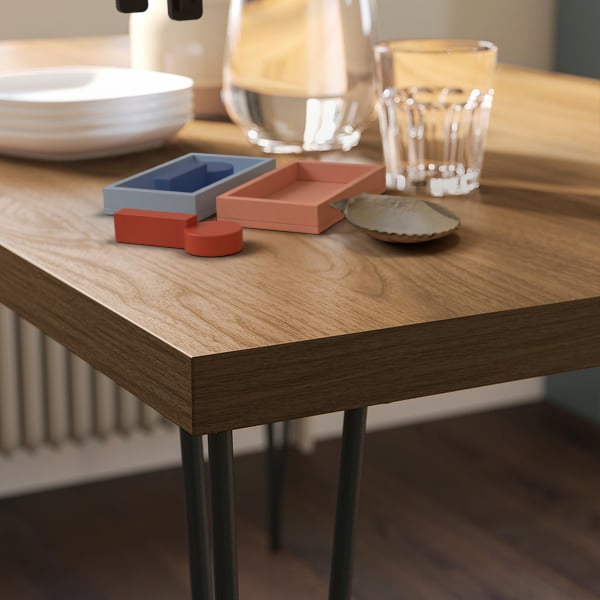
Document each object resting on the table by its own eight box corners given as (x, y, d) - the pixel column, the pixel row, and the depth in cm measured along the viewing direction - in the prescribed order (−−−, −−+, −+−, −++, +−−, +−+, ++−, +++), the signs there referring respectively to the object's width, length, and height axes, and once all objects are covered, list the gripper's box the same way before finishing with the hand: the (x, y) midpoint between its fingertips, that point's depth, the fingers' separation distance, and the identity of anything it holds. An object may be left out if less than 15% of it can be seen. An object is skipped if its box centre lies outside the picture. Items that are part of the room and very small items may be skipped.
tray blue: (192, 176, 97) (191, 152, 97) (276, 182, 94) (275, 158, 94) (104, 214, 86) (102, 187, 85) (196, 223, 83) (195, 195, 82)
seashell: (407, 287, 73) (484, 232, 78) (406, 246, 72) (485, 192, 76) (311, 243, 78) (388, 194, 83) (308, 204, 76) (387, 156, 81)
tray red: (294, 184, 94) (294, 159, 93) (386, 191, 90) (386, 165, 90) (217, 224, 82) (215, 197, 81) (318, 234, 79) (317, 205, 78)
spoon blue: (186, 207, 85) (185, 180, 84) (141, 203, 87) (139, 176, 86) (242, 180, 93) (241, 155, 92) (200, 177, 94) (199, 153, 94)
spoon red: (105, 246, 78) (103, 217, 77) (135, 232, 81) (133, 203, 80) (226, 259, 74) (225, 228, 73) (253, 243, 77) (252, 214, 77)
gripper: (248, -258, 71) (257, 19, 76) (149, -232, 82) (163, 6, 87) (132, -263, 67) (151, 28, 72) (46, -236, 79) (67, 13, 84)
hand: (157, 16), depth 80 cm, fingers open, 8 cm apart
